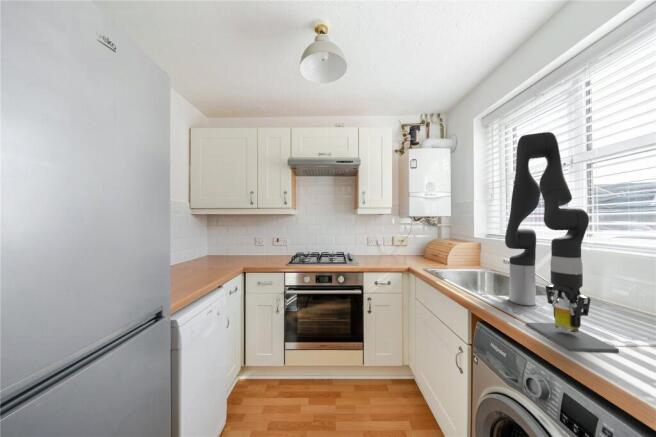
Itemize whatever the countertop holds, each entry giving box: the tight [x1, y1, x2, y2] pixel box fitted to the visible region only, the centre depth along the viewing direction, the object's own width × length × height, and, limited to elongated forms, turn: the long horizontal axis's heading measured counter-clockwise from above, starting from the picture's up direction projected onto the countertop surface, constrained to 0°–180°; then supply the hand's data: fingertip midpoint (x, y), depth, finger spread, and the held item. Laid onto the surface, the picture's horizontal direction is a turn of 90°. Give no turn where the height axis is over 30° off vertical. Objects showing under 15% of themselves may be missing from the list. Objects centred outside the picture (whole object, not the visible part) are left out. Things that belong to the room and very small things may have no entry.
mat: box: [525, 322, 620, 353], centre depth 82 cm, size 18×13×1 cm
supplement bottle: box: [554, 298, 580, 334], centre depth 82 cm, size 6×6×10 cm
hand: (566, 322), depth 82 cm, fingers closed on supplement bottle, 5 cm apart
